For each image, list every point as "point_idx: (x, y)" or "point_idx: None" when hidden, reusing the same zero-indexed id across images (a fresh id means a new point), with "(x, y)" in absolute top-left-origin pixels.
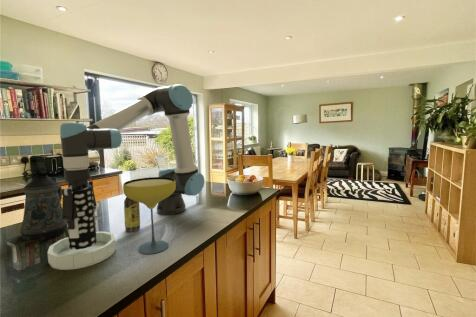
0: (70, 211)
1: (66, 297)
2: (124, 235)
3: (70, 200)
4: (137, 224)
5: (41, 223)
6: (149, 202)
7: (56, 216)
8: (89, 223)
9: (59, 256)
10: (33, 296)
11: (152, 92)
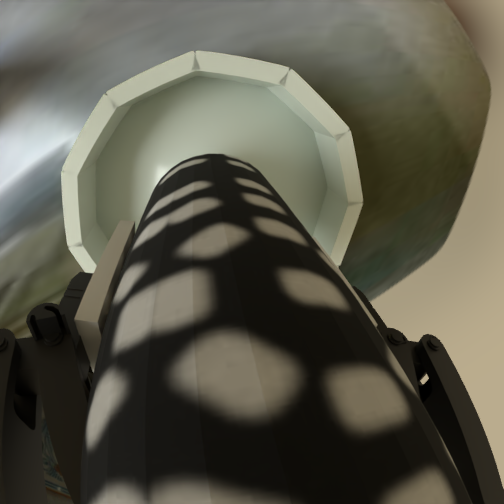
0: (457, 383)
1: (451, 154)
2: (22, 107)
3: (491, 459)
4: None
5: None
6: None
7: None
8: (293, 219)
9: (344, 253)
10: (422, 228)
11: None
